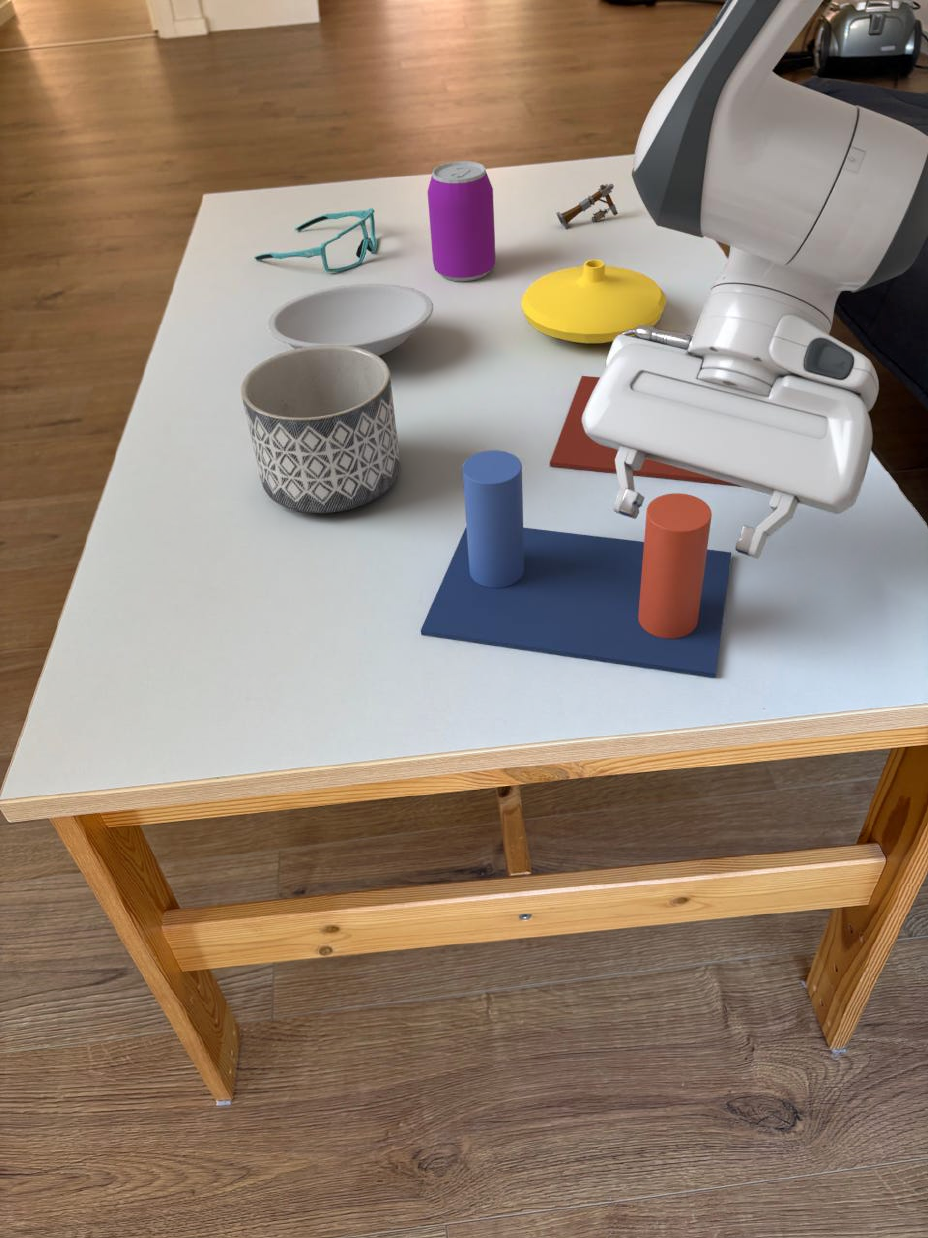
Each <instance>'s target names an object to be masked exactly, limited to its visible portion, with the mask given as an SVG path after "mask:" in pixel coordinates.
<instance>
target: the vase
mask: <svg viewBox="0 0 928 1238" xmlns="http://www.w3.org/2000/svg"><path fill="white" fill-rule="evenodd" d="M666 297H667V296H666V294H665V293H664V291H663V290H662V288H661V287H660V286H659V285H658V283H657V282H656V281H655V280H654V279H652V278H650V277H649V276H647V275H646V274H644V273H641V272H638V271H636V270H633V269H630V268H624V267H619V266H611V265H605V262H604V261H603V260H601V259H589V260H586V261H584V263H583V265H579V266H573V267H566V268H563V269H558V270H556V271H551V272H550V273H547V274H545V275H543V276H541V277H539V278H538V279H536V280H535V281H534V282H533V283H531V284H530V285H529V287H528V288H527V289H526V290H525V292H524V293H523V295H522V297H521V304H520V305H521V306H520V307H521V310H522V312H523V315H524V317H525V319H526V320H527V322H528V324H529V325H530V326H532V328H534V330H536V331H538V332H540V333H542V334H545V335H547V336H549V337H551V338H555V339H560V340H564V341H566V342H567V341H568V342H572V343H579V344H604V343H611V342H612V343H613V341H614V339H615V338H616V337H617V336H618V335H620V334H621V333H623V332H625V331H627V330H630V329H636V328H637V327H638V326H639V325H646V326H651V327H654V326H655V325H656V324H657V323H658V322H659V321H660V319H661V317H662V315H663V312H664V311H665V307H666V305H667V298H666ZM629 336H630V337H635V334H633V335H629Z"/></svg>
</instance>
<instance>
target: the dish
mask: <svg viewBox="0 0 928 1238" xmlns="http://www.w3.org/2000/svg"><path fill="white" fill-rule="evenodd" d="M433 312H434V304H433V301H432V299H431V298H430V297H429V296H428V295H426V294H425V293H424V292H421V291H420V290H418V289H414V288H411V287H408V286H403V285H397V284H390V283H357V284H356V283H354V284H346V285H340V286H339V285H338V286H333V287H327V288H323V289H318V290H315V291H312V292H308V293H305V294H302V295H300V296H298V297H295V298H293V299H290V300H289V301H287V302H284V303H283V304H281V305H280V306H278V307H277V308H276V309H275V310H274V311H273V312H272V313H271V314H270V315H269V317H268V319H267V321H266V325H267V326H266V327H267V330H268V332H269V334H270V335H271V336H272V337H273V338H274V339H276V340H277V341H279V342H281V343H284V344H287V345H289V346H291V347H292V348H293V349H298V348H303V347H309V346H317V345H344V346H351V347H356V348H360V349H364V350H367V351H369V352H371V353H373V354H375V355H377V356H378V357H380V356H381V355H384V354H386V353H388V352H391V351H392V350H394V349H396V348H397V347H399V346H401V345H402V344H403V343H404V342H406V341H407V340H408V339H409V338H410V337H411V336H412V335H413V334H414V333H415V332H416V331H417V330H418V328H420V327H422V326H423V325H424V324H425V323H426V322H427V321H428V320H429V319H430V318H431V316H432V315H433Z"/></svg>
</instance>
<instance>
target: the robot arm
mask: <svg viewBox="0 0 928 1238" xmlns="http://www.w3.org/2000/svg"><path fill="white" fill-rule="evenodd" d="M822 2H824V0H725V2H724V4H723V5H722V7H721V8H720V10H719V12H718V13H717V15H716V17H715V18H714V20H713V21H712V23H711V24H710V26H709V27H708V29H707V30H706V31H705V33H704V34H703V36H702V37H701V39H700V40H699V42H698V43H697V44H696V46H695V48H694V49H693V50H692V51H691V53H690V54H689V56H688V57H687V59H686V60H685V62H684V63H683V65H682V66H681V68H679V69H678V71H676V73H675V74H674V75H673V76H672V77H671V78H670V79H669V81H668V82H667V84H666V85H665V86H664V87H663V88H662V90H661V91H660V93H659V94H658V96H657V97H656V98H655V100H654V102H653V104H652V105H651V107H650V109H649V112H648V113H647V115H646V117H645V120H644V122H643V124H642V127H641V129H640V132H639V135H638V137H637V142H636V146H635V150H634V157H633V168H632V171H631V178H632V181H633V183H634V186H635V188H636V191H637V193H638V195H639V198H640V200H641V201H642V204H643V205H644V208H645V209H646V211H647V212H648V214H649V216H650V217H651V219H652V220H653V222H654V224H655V225H656V226H657V227H661V228H665V229H669V230H672V231H676V232H679V233H683V234H687V235H690V236H694V237H697V238H701V239H703V238H708V239H710V240H713V241H716V242H719V243H721V244H723V245H726V246H729V254H728V258H727V261H726V263H725V265H724V267H723V269H722V271H721V272H720V274H719V275H718V276H717V277H716V279H715V280H714V282H713V283H712V285H711V287H710V290H709V292H708V295H707V298H706V299H705V303H704V305H703V307H702V311H701V313H700V316H699V319H698V321H697V324H696V326H695V329H694V332H693V334H686V333H681V332H677V331H669V330H662V329H661V330H660V329H657V328H656V327H654V326H652V327H651V326H646V325H639V326H638V327H637V328H636V329H630V330H627V331H625V332H623V333H621V334H620V335H618V336H617V337H616V338H615V339H614V341H612V343H611V346H610V348H609V351H608V353H607V357H606V360H605V368H604V370H603V371H602V373H601V375H600V376H599V377H600V379H599V381H598V383H597V385H596V386H595V388H594V390H593V392H592V394H591V397H590V399H589V401H588V403H587V405H586V408H585V410H584V412H583V415H582V424H583V428H584V430H585V433H586V434H587V435H588V436H589V437H590V438H591V439H592V440H593V441H595V442H596V443H598V444H600V445H603V446H606V447H610V448H613V449H616V450H618V453H617V455H616V458H615V465H616V471H617V473H616V477H617V484H618V487H619V489H618V492H617V495H616V497H615V500H614V503H613V507H612V511H613V512H615V513H616V514H619V515H620V516H621V515H622V516H624V517H627V518H630V519H634V520H636V519H637V518H638V517H639V514H640V508H641V507H643V503H644V500H645V499H646V498H645V496H644V495H641V493H639V492H638V491H636V488H635V480H634V475H633V472H632V469H633V470H636V471H640V469H641V467H642V464H643V462H644V459H645V458H647V459H651V460H654V461H657V462H661V463H664V464H668V465H671V466H674V467H678V468H681V469H685V470H688V471H691V472H695V473H698V474H702V475H705V476H708V477H712V478H715V479H719V480H722V481H725V482H729V483H732V484H736V485H739V486H738V487H743V488H746V489H749V490H753V491H756V492H761V493H763V494H766V495H770V496H771V499H770V501H769V503H768V504H769V506H770V508H771V509H772V512H771V513H770V514H769V515H768V516H767V517H766V518H765V519H763V520H762V521H761V522H760V523H759V524H758V525H757V526H755V527H752V526H748V525H743V526H742V529H741V531H740V533H739V534H740V538H739V539H737V541H736V544H735V547H734V548H735V549H734V550H735V551H736V552H737V553H739V554H741V555H745V556H747V557H751V558H753V559H757V560H758V559H760V557H761V555H762V553H763V550H764V547H765V545H766V542H767V539H768V537H771V536H772V535H773V534H774V533H776V532H778V531H779V529H781V528H782V527H783V526H784V525H785V524H787V523H788V522H790V521H791V520H792V519H793V518H794V516H795V513H796V510H797V509H798V508H797V507H798V505H799V504H800V505H804V506H807V507H810V508H814V509H818V510H821V511H825V512H828V513H830V514H831V513H832V514H835V515H840V514H842V513H844V512H846V511H848V510H849V509H851V508H852V507H853V506H854V505H855V504H856V503H857V501H858V498H859V495H860V493H861V490H862V487H863V484H864V481H865V478H866V473H867V469H868V465H869V461H870V458H871V452H872V447H873V446H872V445H873V438H874V435H873V427H872V422H871V418H870V414H869V412H870V411H871V410H872V409H873V408H874V405H875V403H876V402H877V397H878V396H879V391H880V386H879V385H880V384H879V383H880V382H879V378H878V377H879V376H878V374H877V372H876V369H875V367H874V365H873V363H872V361H871V360H870V359H869V357H867V356H865V355H864V354H863V353H861V352H860V351H858V350H856V349H854V348H852V347H851V346H849V345H847V344H845V343H843V342H842V341H840V340H838V339H837V338H835V337H834V336H832V335H830V333H831V331H832V327H833V322H834V321H833V320H834V314H835V307H836V303H837V300H838V298H839V296H840V295H841V293H842V292H851V293H857V292H860V291H863V290H866V289H869V288H872V287H874V286H876V285H879V284H881V283H884V282H887V281H889V280H891V279H895V278H896V277H898V276H901V275H903V274H904V273H905V272H906V271H908V270H909V269H910V268H911V267H912V266H913V264H914V263H915V262H916V260H917V258H918V256H919V254H920V252H921V250H922V248H923V246H924V244H925V241H926V239H927V237H928V135H926V134H925V133H923V132H922V131H920V130H919V129H917V128H915V127H913V126H911V125H909V124H907V123H905V122H902V121H899V120H897V119H895V118H892V117H889V116H886V115H884V114H881V113H879V112H876V111H873V110H871V109H868V108H865V107H864V106H860V105H854V104H851V103H849V102H845V101H843V100H841V99H838V98H835V97H832V96H830V95H827V94H825V93H822V92H820V91H817V90H814V89H811V88H809V87H806V86H803V85H801V84H799V83H795V82H793V81H790V80H788V79H785V78H783V77H781V76H779V74H776V73H775V72H774V71H773V70H775V67H776V66H777V65H778V64H779V62H780V61H781V59H782V58H783V56H784V55H785V54H786V52H787V51H788V50H789V48H790V47H791V45H792V44H793V43H794V42H795V40H796V39H797V37H798V35H799V34H800V33H801V32H802V31H803V29H805V26H806V25H807V23H808V22H809V21H810V19H811V18H812V17H813V15H814V14H815V13H816V11H817V10H818V8H819V7H820V6H821V4H822ZM633 334H635V336H632V337H630V336H629V335H633Z"/></svg>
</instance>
